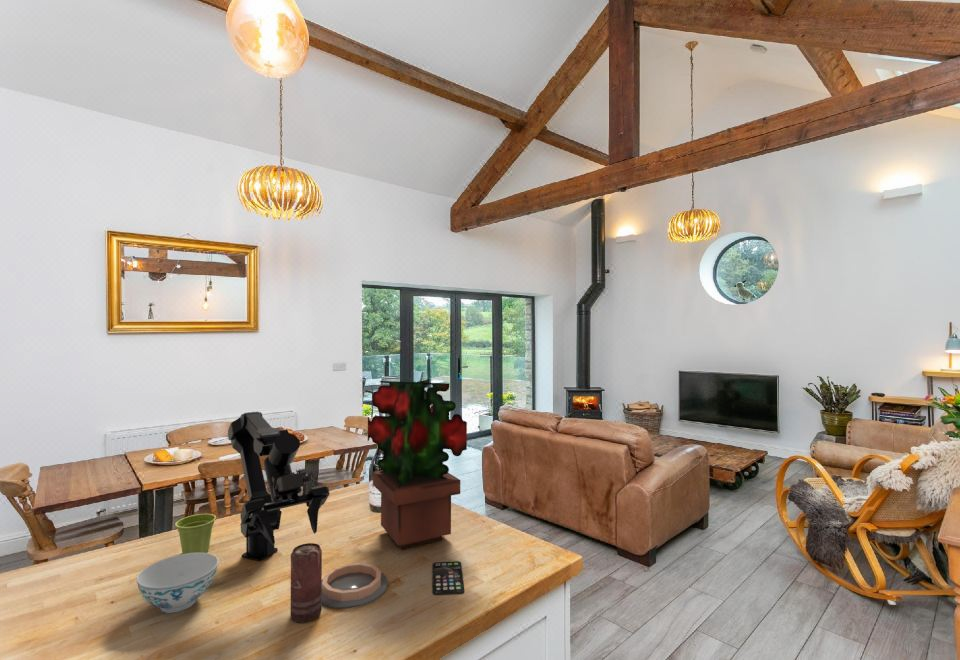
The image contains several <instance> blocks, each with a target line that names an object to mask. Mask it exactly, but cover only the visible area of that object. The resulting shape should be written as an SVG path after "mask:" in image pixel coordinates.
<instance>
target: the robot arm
mask: <svg viewBox="0 0 960 660" xmlns="http://www.w3.org/2000/svg"><path fill="white" fill-rule="evenodd" d="M227 436H228V437H227V439H228V440H229V441H230V443H231V448H232V449H233V450H235V451H236V452H237V453H238V454H239V455H240V460H241V466H242V471H243V476H244V481H245V486H246V490H247V497H248V500H246V501H245V503H244V504H243V506H242V509H241V511H240V521H241V522H240V532H241V534H242V535H243V536H244V538H246V540H245V541H246V547H245V549H246V550H245V551H246V552H244V553H243V554H241V558H244V559H249V560H254V561H259V562H260V561H263V560H264V559H266V558H268V557H269V556H271V555H272V554H274V553H276V552H278V550H279V549H278V548H277V547H275V543H276V541H275V535H274V534H275V533H274V531H276V530H279V529H280V525H281V519H282V511H281V509H285V508H289V507H295V506H298V505H303V504H305V505H306V507H308V508H307V510H306V513H307V516H308V520H309V524H310V527H311V530H312V533H313V534H317V532H318V521H319V520H318V519H319V510H320V509H321V507H322V506H323V505H324V504H325V503H326V501H327V500H328V498H329V497H330V489H329V487H328V486H326V485H324V484H323V485H318V486H314V487H313V486H312V487H310V488H309V490H308V492H307V493H306V494H302V495H299V494H300V493H301V491H302V488H304V487H305V484H308V483H310V482H312V476H311V472H310V469H309V467H306V468H301V469H300V470H299V471H298V472H297V473H295V472H293V470H292V466H291V463H293V461H294V459H295V457H296V455H297V454H298V451H299V448H300V446H301V442H300V439H299V438H298V437H297V435H295V434H293V433H289V429H282V428H277V427H272V426H271V425H270V423H269V422H268V421H267V420H266V419H265V418H264V417H263V413H262V412H261V411H251V412H250V411H249V412H244V413H241V415H240V416H239V417H238V418H237V419H235V420H234V421H232V422H231V423H230V425H229V427H228V429H227ZM266 456H267V457H266ZM260 457H266V458H265V459H264V460H263V467H262V463H261V459H260ZM264 472H265V476H264ZM265 477H266V481H267V486H268V487H267V486H266V481H265Z"/></svg>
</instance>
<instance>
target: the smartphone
mask: <svg viewBox="0 0 960 660" xmlns="http://www.w3.org/2000/svg"><path fill="white" fill-rule="evenodd" d="M463 575H464V574H463V566H462V562H461V561H459V560H456V561H454V560H452V561H435V562H433V563H432V583H431V584H432V585H431V586H432V587H431V588H432V595H434V596H445V595H446V596H447V595H451V596H452V595H462V594H464V593H465V584H464V576H463Z"/></svg>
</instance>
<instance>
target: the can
mask: <svg viewBox="0 0 960 660" xmlns="http://www.w3.org/2000/svg"><path fill="white" fill-rule="evenodd" d="M322 555H323V551H322V549H321V546H320V544H318V543H314V542H309V543H302V544H299V545H296V547H294V548H293V549H292V552H291V554H290V610H289V611H290V613H289V614H290V618H291V620H292V621H294V623H295V622H296V623H297V624H304V623H305V624H306V623H309V622H312V621H314V620H315V619H317V618H318V617H319V616H320V614H321V612H322V604H321V599H322V580H323V579H322V575H323V574H322V570H323V567H322V566H323V564H322V563H323V562H322V561H323V556H322Z"/></svg>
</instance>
